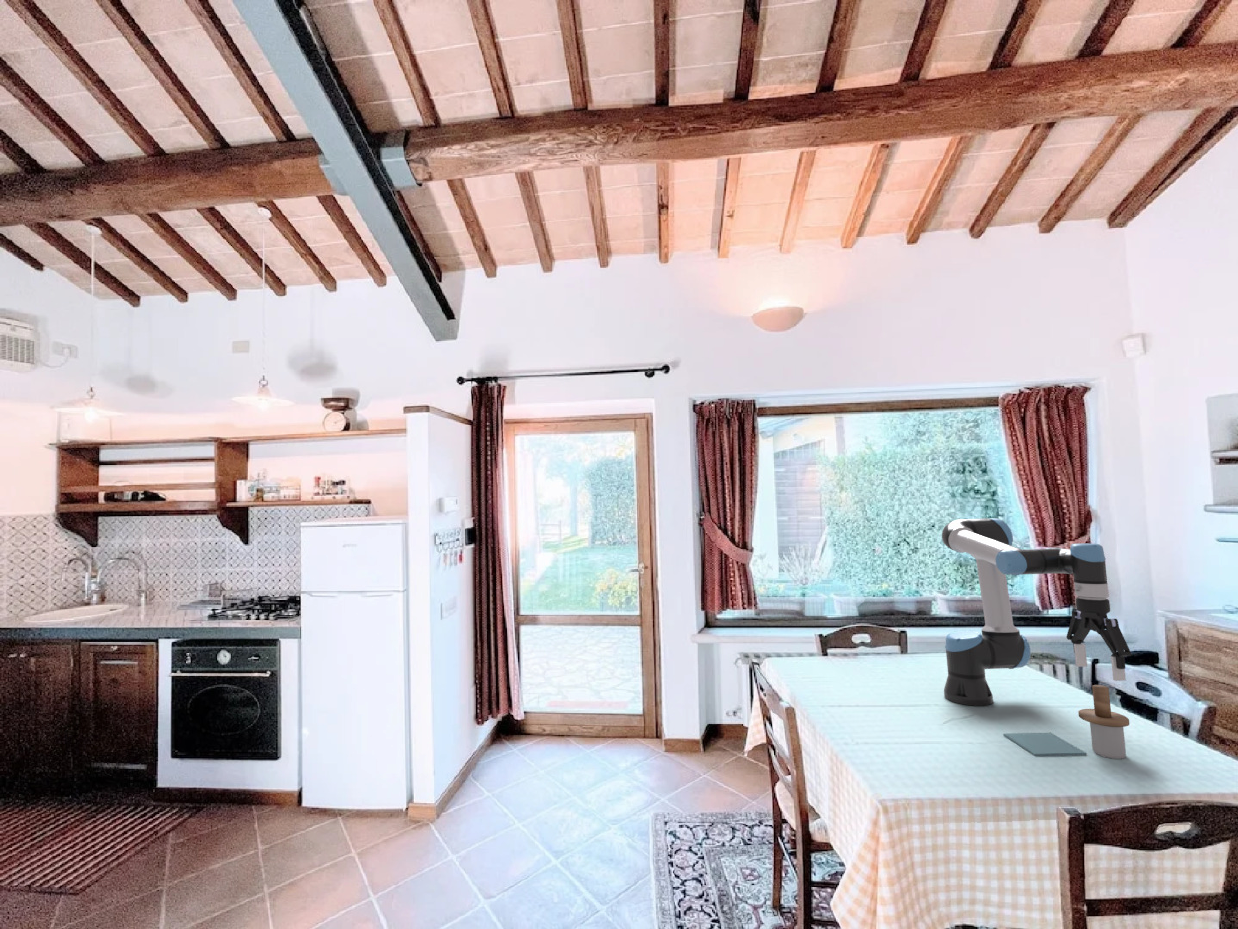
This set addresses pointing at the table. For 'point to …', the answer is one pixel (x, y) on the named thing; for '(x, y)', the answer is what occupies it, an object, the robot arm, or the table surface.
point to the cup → (1108, 741)
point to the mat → (1044, 744)
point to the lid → (1103, 710)
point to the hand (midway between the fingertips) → (1099, 673)
